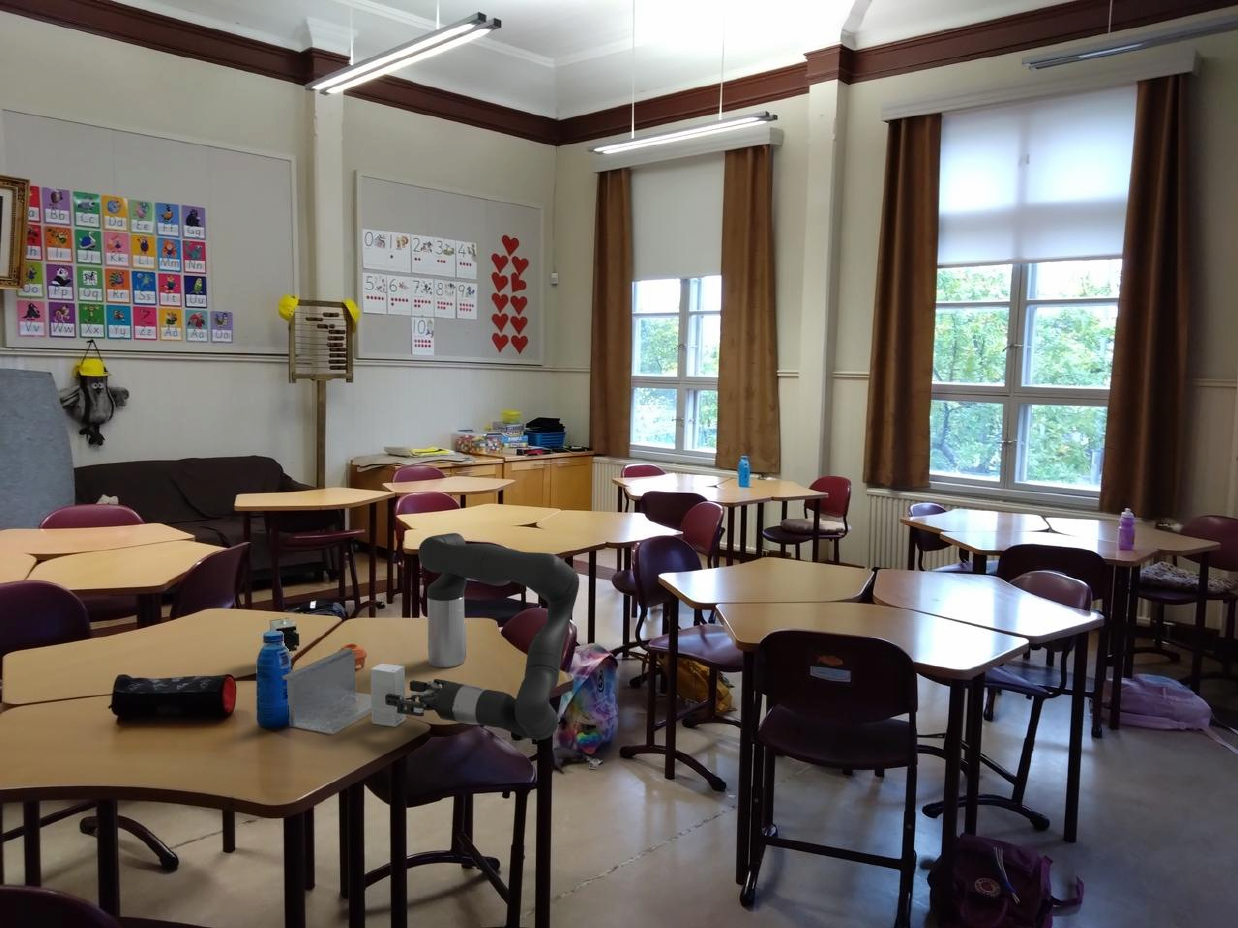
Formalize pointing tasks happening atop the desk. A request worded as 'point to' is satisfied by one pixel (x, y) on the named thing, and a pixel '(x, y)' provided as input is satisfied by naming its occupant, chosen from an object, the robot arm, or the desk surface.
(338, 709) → the bracket
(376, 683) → the skincare box
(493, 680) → the desk surface
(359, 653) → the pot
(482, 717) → the robot arm
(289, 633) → the pneumatic valve
